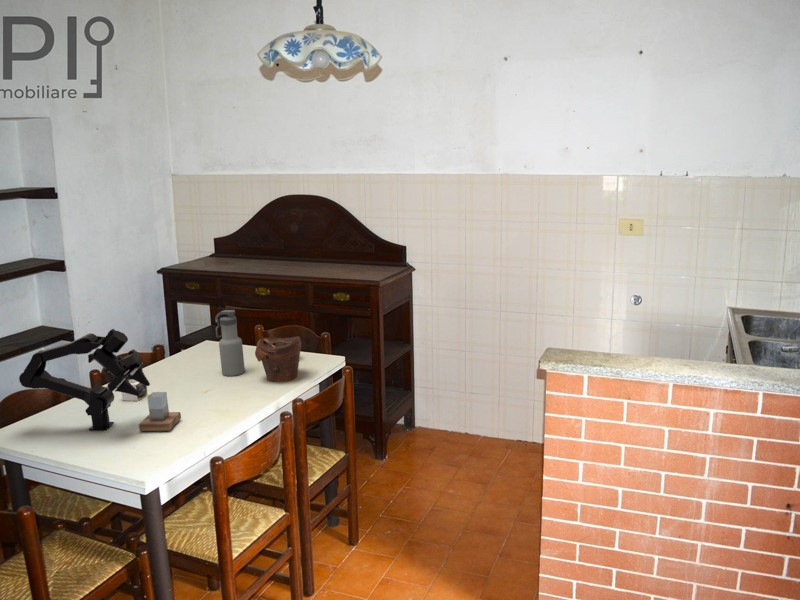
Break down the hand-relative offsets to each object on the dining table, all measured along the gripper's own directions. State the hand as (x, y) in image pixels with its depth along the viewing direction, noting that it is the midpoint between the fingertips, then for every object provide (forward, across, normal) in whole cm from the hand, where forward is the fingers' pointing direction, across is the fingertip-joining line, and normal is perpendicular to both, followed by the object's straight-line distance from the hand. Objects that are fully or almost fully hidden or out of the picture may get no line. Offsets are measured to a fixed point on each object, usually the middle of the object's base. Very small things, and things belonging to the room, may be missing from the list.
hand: (144, 390), depth 253 cm
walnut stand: (+13, -1, +6) cm, 14 cm away
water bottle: (+21, +56, 0) cm, 60 cm away
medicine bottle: (-2, +28, +22) cm, 36 cm away
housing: (+11, -1, +4) cm, 12 cm away
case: (+37, +49, -16) cm, 64 cm away
